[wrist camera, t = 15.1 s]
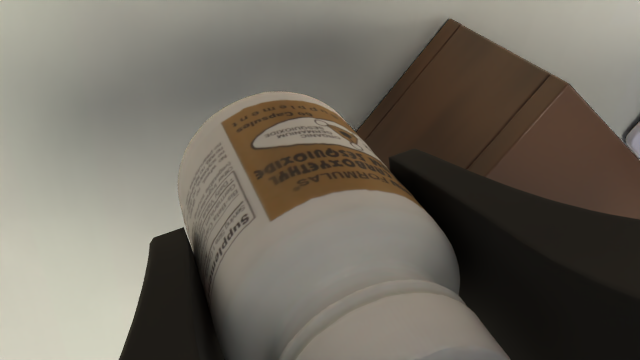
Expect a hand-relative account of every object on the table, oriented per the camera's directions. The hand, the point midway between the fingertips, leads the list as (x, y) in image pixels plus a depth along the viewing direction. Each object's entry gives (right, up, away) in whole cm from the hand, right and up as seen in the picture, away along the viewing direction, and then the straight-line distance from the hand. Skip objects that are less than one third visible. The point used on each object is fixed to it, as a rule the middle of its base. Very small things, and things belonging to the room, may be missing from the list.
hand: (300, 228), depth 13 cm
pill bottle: (-1, +1, +2) cm, 3 cm away
